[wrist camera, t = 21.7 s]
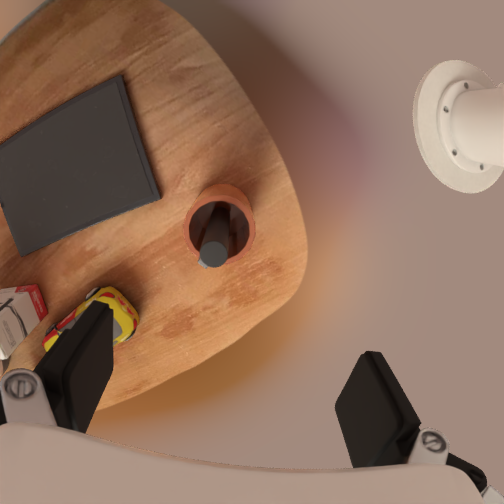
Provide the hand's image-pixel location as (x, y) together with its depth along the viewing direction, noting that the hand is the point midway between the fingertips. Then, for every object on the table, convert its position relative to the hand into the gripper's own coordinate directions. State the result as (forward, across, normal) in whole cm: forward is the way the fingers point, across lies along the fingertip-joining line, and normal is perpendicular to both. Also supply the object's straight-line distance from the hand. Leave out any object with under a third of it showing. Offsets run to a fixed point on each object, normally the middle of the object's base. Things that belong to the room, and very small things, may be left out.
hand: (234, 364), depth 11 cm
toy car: (+26, +16, +20) cm, 36 cm away
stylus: (+25, +2, +1) cm, 25 cm away
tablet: (+25, +22, -1) cm, 33 cm away
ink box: (+25, +28, +19) cm, 42 cm away
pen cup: (+26, +2, 0) cm, 26 cm away
